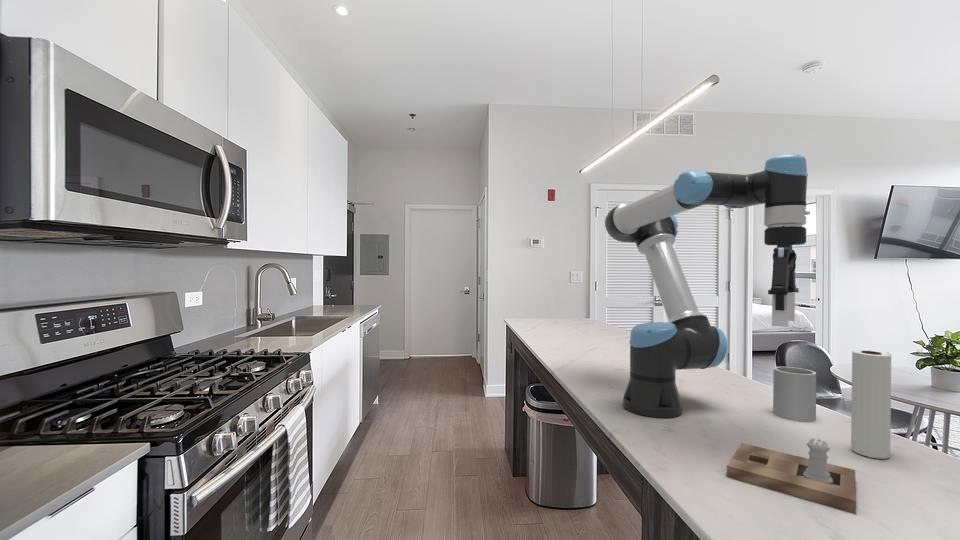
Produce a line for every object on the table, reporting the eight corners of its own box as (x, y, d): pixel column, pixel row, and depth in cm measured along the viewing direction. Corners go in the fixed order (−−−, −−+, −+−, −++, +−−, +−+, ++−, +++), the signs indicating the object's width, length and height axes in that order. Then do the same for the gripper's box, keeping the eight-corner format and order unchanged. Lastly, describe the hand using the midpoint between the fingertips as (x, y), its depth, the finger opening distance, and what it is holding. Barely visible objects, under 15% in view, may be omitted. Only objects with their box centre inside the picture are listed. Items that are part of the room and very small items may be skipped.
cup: (818, 424, 107) (818, 376, 107) (774, 417, 112) (774, 371, 112) (813, 414, 115) (813, 369, 115) (772, 408, 119) (772, 365, 119)
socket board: (726, 476, 79) (726, 465, 79) (741, 452, 90) (741, 442, 90) (855, 513, 68) (856, 500, 68) (855, 480, 78) (855, 469, 78)
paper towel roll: (859, 457, 88) (860, 353, 88) (845, 445, 94) (846, 348, 94) (903, 462, 86) (905, 356, 86) (887, 450, 91) (888, 351, 91)
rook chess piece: (840, 493, 74) (840, 447, 74) (810, 491, 74) (811, 445, 74) (824, 481, 78) (824, 437, 78) (796, 478, 79) (797, 435, 79)
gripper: (801, 220, 82) (799, 330, 82) (810, 230, 101) (809, 319, 101) (755, 223, 87) (754, 327, 87) (772, 231, 106) (771, 317, 106)
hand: (783, 323), depth 94 cm, fingers open, 13 cm apart
